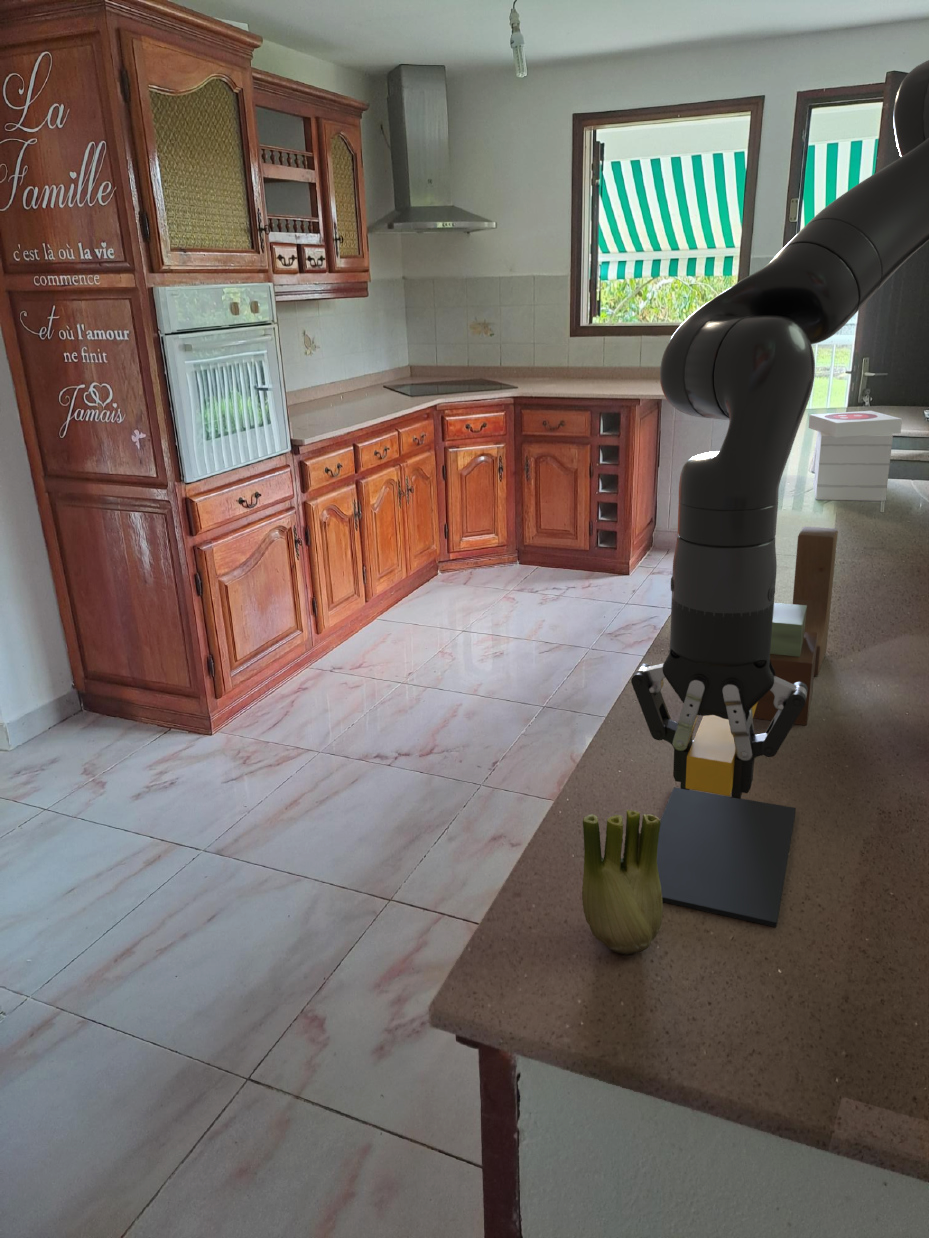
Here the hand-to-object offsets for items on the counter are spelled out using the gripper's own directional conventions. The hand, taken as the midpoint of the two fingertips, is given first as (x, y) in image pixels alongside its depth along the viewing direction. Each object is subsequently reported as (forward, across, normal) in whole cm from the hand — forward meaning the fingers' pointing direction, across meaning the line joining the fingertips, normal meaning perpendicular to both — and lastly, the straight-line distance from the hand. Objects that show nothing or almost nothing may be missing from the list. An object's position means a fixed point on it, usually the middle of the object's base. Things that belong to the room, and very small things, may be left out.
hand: (711, 788), depth 73 cm
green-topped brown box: (+10, -1, -40) cm, 41 cm away
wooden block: (+11, -4, -54) cm, 55 cm away
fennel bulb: (+11, +5, +8) cm, 14 cm away
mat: (+10, 0, -7) cm, 12 cm away
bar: (-1, 0, -6) cm, 7 cm away
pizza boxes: (+10, -5, -166) cm, 166 cm away
